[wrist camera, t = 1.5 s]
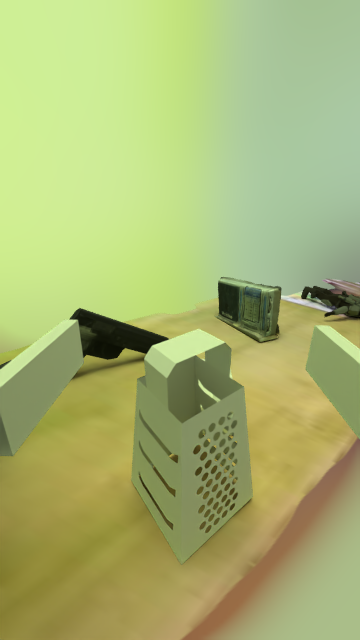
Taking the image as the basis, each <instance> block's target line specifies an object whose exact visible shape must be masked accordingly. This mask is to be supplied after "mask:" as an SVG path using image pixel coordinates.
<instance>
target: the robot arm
mask: <svg viewBox="0 0 360 640" xmlns="http://www.w3.org/2000/svg"><path fill="white" fill-rule="evenodd" d="M83 363H84V360H83V352H82V345H81V338H80V331H79V324H78V320H63V321H62V322H61V323H59V324H58V325H57V326H56V327H55V328H53V329H52V330H51V331H49V332H48V333H47V334H45V335H44V336H43V337H41V338H40V339H39V340H38V341H36V342H35V343H34V344H32V345H31V346H30V347H29V348H27V349H26V350H25V351H23V352H22V353H21V354H20V355H18V356H17V357H16V358H14V359H13V360H10V361H8V362H6V363H4V364H2V365H0V456H14V454H15V453H16V452H17V450H18V449H19V448H20V446H21V445H22V444H23V442H24V441H25V440H26V438H27V437H28V436H29V434H30V433H31V432H32V430H33V429H34V428H35V427H36V425H37V424H38V423H39V421H40V420H41V419H42V417H43V416H44V415H45V413H46V412H47V411H48V409H49V408H50V407H51V405H52V404H53V403H54V401H55V400H56V399H57V398H58V396H59V395H60V394H61V392H62V391H63V390H64V388H65V387H66V386H67V384H68V383H69V382H70V380H71V379H72V378H73V376H74V375H75V374H76V372H77V371H78V370H79V368H80V367H81V366H82V365H83ZM306 371H307V372H308V373H309V374H310V376H311V377H312V378H313V380H314V381H315V382H316V383H317V385H318V386H319V387H320V389H321V390H322V391H323V393H324V394H325V395H326V396H327V398H328V399H329V400H330V402H331V403H332V404H333V406H334V407H335V408H336V409H337V411H338V412H339V413H340V415H341V416H342V417H343V418H344V420H345V421H346V422H347V424H348V425H349V426H350V428H351V429H352V430H353V431H354V433H355V434H356V435H357V437H358V438H359V439H360V349H359V348H358V347H356V346H355V345H354V344H352V343H351V342H350V341H348V340H347V339H346V338H344V337H343V336H342V335H340V334H339V333H338V332H336V331H335V330H334V329H333V328H331V327H330V326H316V325H315V326H314V331H313V336H312V341H311V345H310V350H309V355H308V360H307V364H306Z"/></svg>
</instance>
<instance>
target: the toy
mask: <svg viewBox="0 0 360 640" xmlns="http://www.w3.org/2000/svg"><path fill="white" fill-rule="evenodd" d="M309 292H310V293H311V298H314V297H317V298H319V299H320V300H321V302H323V303H324V304H326V305H327V306H333V305H334V306H336V308H337V309H336V310H333V311H332V312H328V313H326V314H325V315H324V316H325V317H327V316H330V315H339V314H343V313H345V314H346V315H349V316H354V317H360V297H359V296H354V295H347V294H346V291H343V292H342V294H333V293H332V292H331V291H329V290H327V289H324V288H320V287H317V286H314V287H313V288H310V287H305V288H304V290H303V292H302V295H301V297H302V299H306V298H307V295H308V293H309Z"/></svg>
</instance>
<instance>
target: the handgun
mask: <svg viewBox="0 0 360 640" xmlns="http://www.w3.org/2000/svg"><path fill="white" fill-rule="evenodd" d="M69 320H78V324H79V331H80V338H81V345H82V352H83V358H84V357H85V356H86V355H90V356H95V357H99V358H103V359H107V360H108V359H114V358H118V356H119V355H120V353H121V352H122V350H123V349H125V348H127V349H131V350H134V351H138V352H142V353H145V354H147V353H148V351H149V350H150V348H151V346H153V345H155V344H158V343H161V342H164V341H167V340H169V339H168V338H167V337H164V336H161V335H158V334H155V333H152V332H149V331H146V330H143V329H140V328H137V327H134V326H131V325H128V324H126V323H123V322H119V321H117V320H113V319H111V318H108V317H105V316H102V315H99V314H96V313H93V312H90V311H87V310H84V309H81V308H79V309H78V310H76V311H75V313H74V314H73V315H72V317H71V318H70V319H69Z"/></svg>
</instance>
